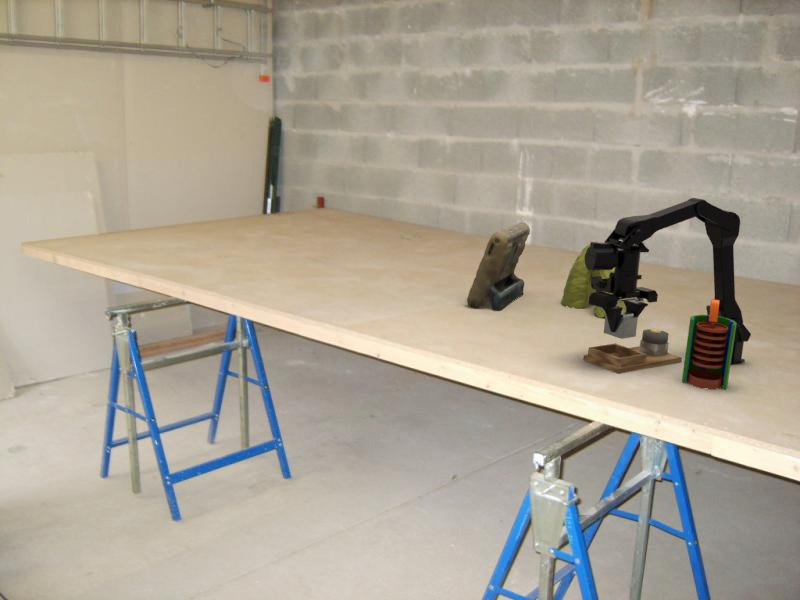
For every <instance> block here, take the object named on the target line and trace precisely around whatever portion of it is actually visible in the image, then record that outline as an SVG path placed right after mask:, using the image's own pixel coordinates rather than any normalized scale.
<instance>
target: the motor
mask: <svg viewBox="0 0 800 600" xmlns="http://www.w3.org/2000/svg"><path fill="white" fill-rule="evenodd" d="M718 311H719V300H715V298H713V299H712V298H711V300H710V315H707V314H695V315H691V316H690V318H689V326H688V332H687V333H688V334H687V341H686V346H685V347H686V349H685V356H684V361H683V362H684V363H683V364H684V365H683V369H682V379H681V382H682V383H684V384H686V383H688V385H691V386H692V385H693V386H692V387H695V386H696V387H695V388H698V387H699V389H703V388H708V389H707V390H717V389H716V388H719V389H721V388H724V389H723V390H727V389H728V384H729V376H730V372H731V365H732V364H731V358H732V352H733V345H734V338H735V331H736V325H737V323H736V322H735V321H733V320H731V319H728V318H724V317H720V316H718ZM721 386H722V387H721ZM720 387H721V388H720ZM726 388H727V389H726Z"/></svg>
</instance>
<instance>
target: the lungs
mask: <svg viewBox="0 0 800 600" xmlns="http://www.w3.org/2000/svg"><path fill="white" fill-rule="evenodd" d="M596 242H597V243H599V242H598V241H596ZM589 247H590V243H589V244H587V245H586V246H584V248H582V250H581V252H580V253H579V255H578V256H577V257H576V259H575V260H574V263H573V264H572V266H571V268H570V271H569V272H568V276H567V279H566V282H565V285H564V288H563V295H562V297H561V304H562V306H563V307H566V306H569V307H570V308H571V307H574V308H573V309H582V308H586V307H587V306H588V305H589V295H590V294H591V293H594V292H596V289H592V287H591V280H592V277H595V276H601V277H602V279H606V278H609V275H610V273H611V272H614V270H615V267H614V268H613V269H612V270H588V269H587V267H586V265H585V254H586V251H587V249H588V248H589ZM603 292H604V291H603ZM605 293H608V292H605ZM609 294H612V295H613V293H609ZM619 298H621V297H619ZM569 307H568V308H569ZM619 307H622V308H623V309H622V310H623V311H626V306H625V304H624V302H623V301H620V302H619ZM593 313H594V314H595V316H596V317H597V318H598V317H599V318H600V319H601V318H605V315H606V313H605V311H604V309H603V308H602V307H598V306H595V305H594V310H593Z"/></svg>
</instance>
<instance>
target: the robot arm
mask: <svg viewBox="0 0 800 600" xmlns="http://www.w3.org/2000/svg"><path fill="white" fill-rule="evenodd" d="M693 218H696V219H697V220H699V221H700V222H702V223H704V227H705V231H706V236H707V238H708V239H709V241H710V243H711V246H712V257H713V258H712V260H713V261H712V262H713V285H714V287H713V288H714V289H713V290H714V291H713V292H714V299H715V300H719V311H718V316H720V317H724V318H728V319H731V320H733V321H735V322H736V323H737V325H736V331H735V338H734V345H733V352H732V358H731V365H733V364H738V363H743V362H745V361H746V360H745V359H744V358H742V356H743V350H744V344H745V342H749V340H750V338H751V335H752V333H751V331H749V330H748V328H747V327H746V326H745V325H744V318H743V313H742V310H741V307H740V306H739V304H738V301H737V299H736V294H735V293H736V288H735V287H736V286H735V260H734V259H735V258H734V257H735V255H734V254H735V253H734V251H735V250H734V246H735V243H736V241H737V239H738V237H739V235H740V229H741V217H740V216H739V214H737V213H735V212H734V211H730V210H724V209H721V208H719V207H717V206H715V205H713V204H711V203H709V202H708V201H707V200H705V199H703V198H702V199H701V198H697V197H691V198H689V199H688V200H685V201H682V202H680V203H677V204H675V205H671V206H669V207H666V208H664V209H663V208H662V209H660V210H657V211H655V212H653V213H650V214H644V215H633V216H627V217H626V216H625V217H622V218H620V219H619V220H617V223H616V224H615V227H614V229H613V231H612V232H611V233H609V236H607V237H606V239H605V240H604V242H598V241H591V242H590V243H589V244H590V247H589V248H588V249H587V251H586V254H585V265H586V267H587V269H588V270H612V269H613V268H614V267H615V270H614V272H611V273H610V275H609V278H606V279H602V277H601V276H595V277H592V280H591V287H592V289H596V292H594V293H591V294H590V295H589V303H588V305H592V306H594V307H595V306H598V307H602V308H603V309H604V311H605V313H606V316H607V320H608V323H609V327H610V331H611V332H615V330H616V328H617V325H618V322H619V318H620V315H621V312H622V309H623V308H622V307H619V302H620V301H623V302H624V304H625V306H626V311H627V312H630V313H633V314H634V316H636V317H638V318H639V317H640V316H641V313H642V312H643V311H644V309H645V308H646V307H649V303H657V302H658V296H659V294H658V293H657V290H655V289H651V288H647V287H643V286H638V280H642V278H643V275H642V274H639V270H640V259H641V253H649V252H650V249H649V248H648V247H647V246H646V245H645V244H644V242H645V241H647V240H648V239H650V238H652V237H653V235H654V234H656V233H657V232H658V231H661V230H663V229H666V228H669V227H671V226H674V225H677V224H680V223H683V222H685V221H687V220H690V219H693ZM597 242H598V243H597ZM603 291H604V292H603ZM605 292H608V293H605ZM609 293H613V295H612V294H609ZM619 297H621V298H619ZM644 299H645V300H646V301H647V303H646V302H645V300H644ZM706 315H710V305H709V304H708V305H706Z"/></svg>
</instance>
